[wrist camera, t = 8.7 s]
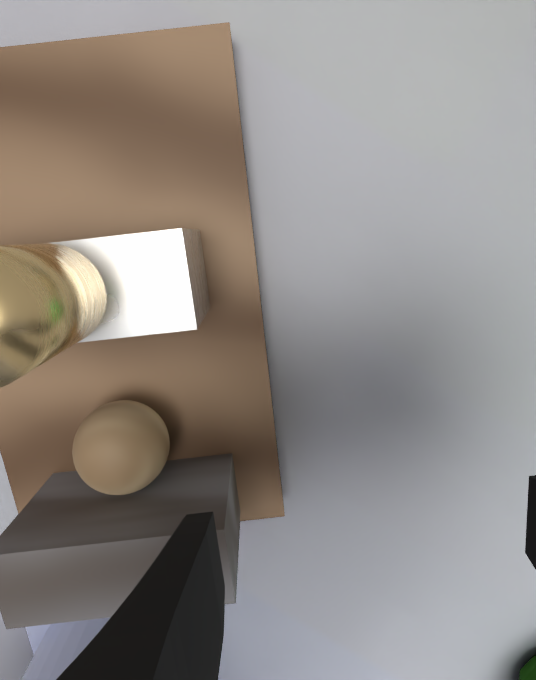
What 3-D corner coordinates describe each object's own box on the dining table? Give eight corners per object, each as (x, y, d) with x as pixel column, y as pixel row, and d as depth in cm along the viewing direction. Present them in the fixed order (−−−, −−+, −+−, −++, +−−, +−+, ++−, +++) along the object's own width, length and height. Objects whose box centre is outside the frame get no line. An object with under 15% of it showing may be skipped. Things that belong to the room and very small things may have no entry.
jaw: (210, 307, 17) (171, 370, 9) (9, 329, 17) (-202, 411, 9) (199, 229, 16) (147, 225, 8) (-11, 252, 16) (-261, 270, 8)
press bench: (282, 496, 21) (294, 608, 15) (43, 523, 21) (-48, 646, 15) (231, 41, 16) (216, -82, 10) (-80, 75, 16) (-294, -26, 10)
